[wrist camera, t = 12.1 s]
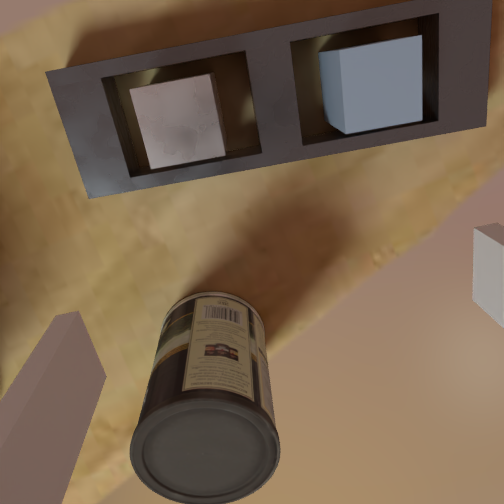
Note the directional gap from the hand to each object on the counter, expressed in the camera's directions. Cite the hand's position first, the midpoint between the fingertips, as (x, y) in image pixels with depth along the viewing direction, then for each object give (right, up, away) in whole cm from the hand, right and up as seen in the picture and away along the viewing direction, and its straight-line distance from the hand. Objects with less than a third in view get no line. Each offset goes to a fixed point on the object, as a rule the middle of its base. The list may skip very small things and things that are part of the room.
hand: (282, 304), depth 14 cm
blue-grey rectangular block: (+7, +15, +19) cm, 25 cm away
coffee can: (-5, -7, +28) cm, 29 cm away
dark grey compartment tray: (0, +14, +19) cm, 24 cm away
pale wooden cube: (-6, +13, +19) cm, 24 cm away
